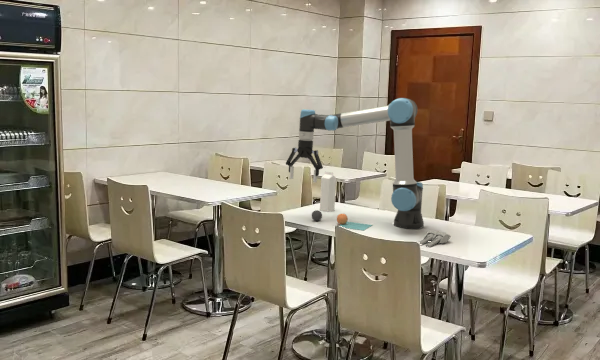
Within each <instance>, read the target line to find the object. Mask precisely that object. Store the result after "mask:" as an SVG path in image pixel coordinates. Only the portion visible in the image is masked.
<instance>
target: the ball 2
mask: <svg viewBox="0 0 600 360" xmlns="http://www.w3.org/2000/svg"><path fill="white" fill-rule="evenodd" d="M348 219H349V218H348V216H347V214H345V213H339V214H338V215H337V217H336V221H337V223H338V224H339V225H341V224H345V223H346V222H348Z"/></svg>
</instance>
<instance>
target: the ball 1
mask: <svg viewBox="0 0 600 360" xmlns="http://www.w3.org/2000/svg"><path fill="white" fill-rule="evenodd" d="M311 218H312V220H313V221H315V222H318V221H320V220H322V219H323V213H322V211H321V210H316V209H315V210H314V211H312V212H311Z"/></svg>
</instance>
